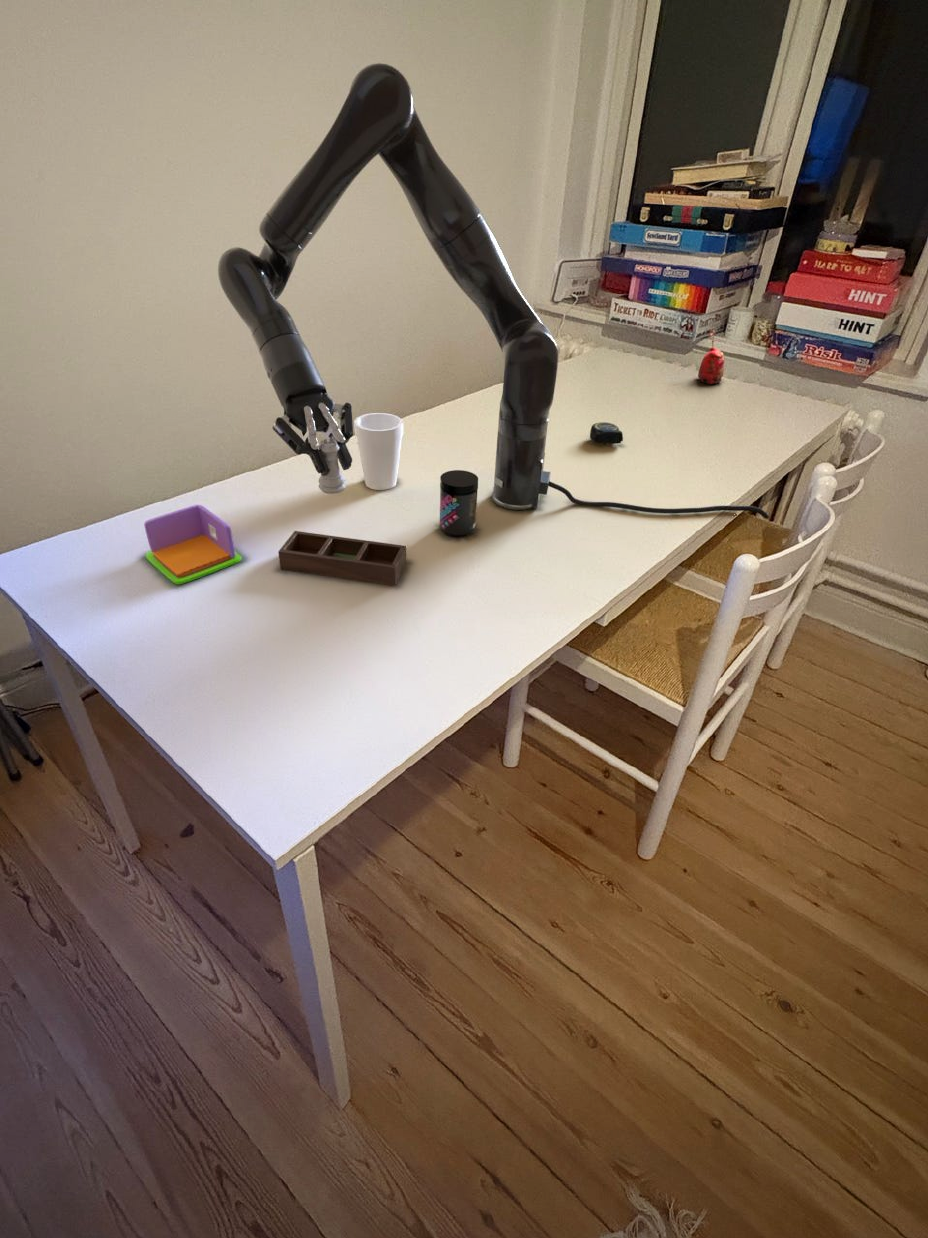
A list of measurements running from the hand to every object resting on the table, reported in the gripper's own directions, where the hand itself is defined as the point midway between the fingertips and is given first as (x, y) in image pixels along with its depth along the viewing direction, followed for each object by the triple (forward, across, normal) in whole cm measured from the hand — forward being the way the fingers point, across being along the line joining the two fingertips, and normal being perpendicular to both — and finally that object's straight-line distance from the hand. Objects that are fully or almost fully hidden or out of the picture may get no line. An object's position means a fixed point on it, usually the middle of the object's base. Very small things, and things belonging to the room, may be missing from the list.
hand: (337, 470), depth 110 cm
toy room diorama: (+2, -21, +20) cm, 29 cm away
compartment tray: (+13, -2, +9) cm, 16 cm away
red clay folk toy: (-5, +139, +28) cm, 142 cm away
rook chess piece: (+2, 0, +4) cm, 5 cm away
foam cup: (-3, +21, +25) cm, 33 cm away
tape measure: (+6, +76, +17) cm, 79 cm away
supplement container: (+14, +22, +8) cm, 27 cm away
